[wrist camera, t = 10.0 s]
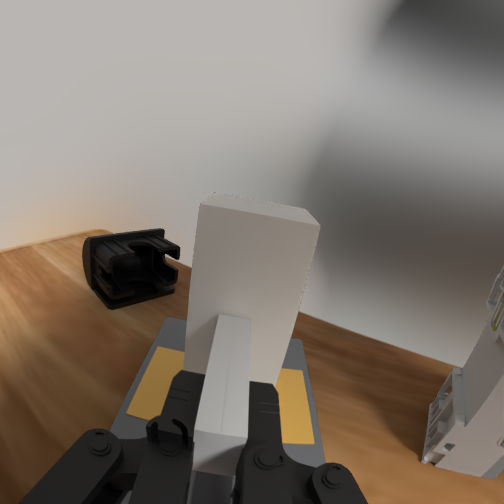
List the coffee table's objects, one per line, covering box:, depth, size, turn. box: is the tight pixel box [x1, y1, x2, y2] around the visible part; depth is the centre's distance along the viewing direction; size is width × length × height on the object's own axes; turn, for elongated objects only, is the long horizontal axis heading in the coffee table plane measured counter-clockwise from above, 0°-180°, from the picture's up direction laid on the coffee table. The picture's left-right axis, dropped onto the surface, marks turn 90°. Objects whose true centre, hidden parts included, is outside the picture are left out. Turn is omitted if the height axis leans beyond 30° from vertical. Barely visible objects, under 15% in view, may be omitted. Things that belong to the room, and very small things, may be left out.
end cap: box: [82, 228, 180, 310], centre depth 32 cm, size 10×7×7 cm
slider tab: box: [183, 193, 320, 387], centre depth 15 cm, size 5×4×12 cm
